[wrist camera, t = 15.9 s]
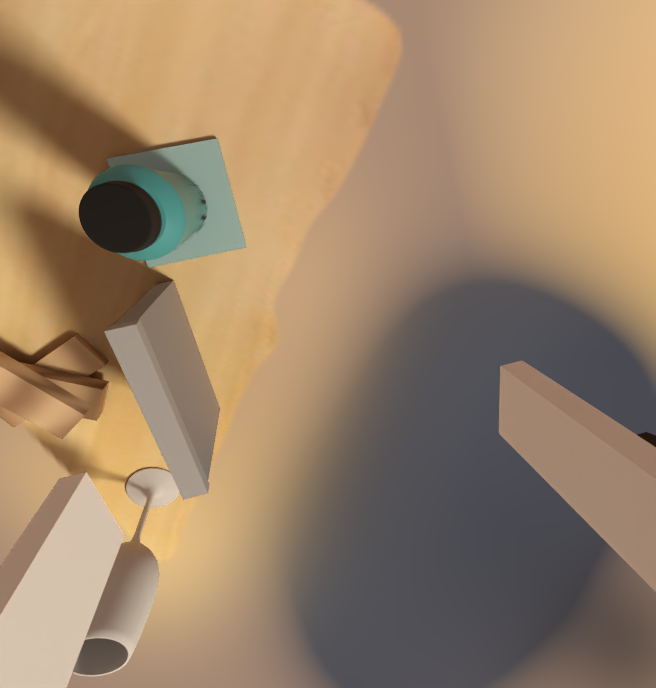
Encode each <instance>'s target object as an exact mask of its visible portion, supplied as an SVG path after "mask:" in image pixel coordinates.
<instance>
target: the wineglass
mask: <svg viewBox="0 0 656 688" xmlns="http://www.w3.org/2000/svg"><path fill="white" fill-rule="evenodd" d="M126 491H127V494H128V496H129V498H130V499H131V500H132V501H133V502H135V503H136V504H138V505H141V506H143V507H144V509H143V512H142V515H141V518H140V521H139V523H138V526H137V529H136V532H135V535H134V536H133V538H132V540H131V541H130V542H126V543H122V544H121V546H120V548H119V551H118V554H117V556H116V559H115V561H114V564H113V567H112V569H111V572H110V575H109V577H108V580H107V582H106V585H105V588H104V590H103V593H102V596H101V598H100V601H99V603H98V606H97V609H96V611H95V614H94V616H93V619H92V622H91V624H90V627H89V630H88V632H87V635H86V637H85V640H84V643H83V645H82V648H81V651H80V653H79V656H78V658H77V661H76V664H75V666H74V669H73V672H72V673H73V674H76V675H81V676H102V675H105V674H110V673H113V672H115V671H117V670H119V669H121V668H122V667H123V666H125V665H126V664H127V662H128V661H129V659H130V657H131V655H132V653H133V651H134V649H135V647H136V645H137V642H138V640H139V638H140V635H141V633H142V631H143V628H144V626H145V623H146V621H147V618H148V615H149V613H150V610H151V607H152V605H153V602H154V598H155V595H156V591H157V587H158V581H159V568H158V563H157V559H156V558H155V556H154V555H153V553H152V552H151V550H150V549H149V548H147V547H146V546H144V545H143V544H141V543H140V537H141V533H142V530H143V527H144V524H145V521H146V518H147V515H148V512H149V509H150V508H158V507H163V506H166V505H168V504H170V503H172V502H173V501H174V500H175V499H176V498H177V497H178V495H179V493H180V492H179V490H178V488H177V485H176V483H175V481H174V479H173V477H172V475H171V473H170V471H168V470H165V469H162V468H145V469H142V470H139V471H137V472H136V473H134V474H133V475H132V476H131V477H130V478H129V480H128V482H127V485H126Z"/></svg>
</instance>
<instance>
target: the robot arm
mask: <svg viewBox="0 0 656 688" xmlns="http://www.w3.org/2000/svg"><path fill="white" fill-rule="evenodd" d="M500 369H501V370H500V408H499V410H500V411H499V434H500V435H501V436H502V437H503V438H504V439H505V440H506V441H507V442H508V443H509V444H510V445H511V446H512V447H513V448H514V449H515V450H516V451H517V452H518V453H519V454H520V455H521V456H522V457H523V458H524V459H525V460H526V461H527V462H528V463H529V464H530V465H531V466H532V467H533V468H534V469H535V470H536V471H537V472H538V473H539V474H540V475H541V476H542V477H543V478H544V479H545V480H546V481H547V482H548V483H549V484H550V485H551V486H552V487H553V488H554V489H555V490H556V491H557V492H558V493H559V494H560V495H561V496H562V497H563V499H564V500H565V501H566V502H567V503H568V504H570V505H571V507H573V508H574V510H575V511H576V512H577V513H578V514H579V515H580V516H581V517H582V518H583V519H584V520H585V521H586V522H587V523H588V524H589V525H590V526H591V527H592V528H593V529H594V530H595V531H596V532H597V533H598V534H599V535H600V536H601V537H602V538H603V539H604V540H605V541H606V542H607V543H608V544H609V545H610V546H611V547H612V548H613V549H614V550H615V551H616V552H617V553H618V554H619V555H620V556H621V557H622V558H623V559H624V560H625V561H626V562H627V563H628V564H629V565H630V566H631V567H632V568H633V569H634V570H635V571H636V572H637V573H638V574H639V575H640V576H641V577H642V578H643V579H644V580H645V581H646V582H647V583H648V584H649V585H650V586H651V588H652V589H654V591H655V592H656V436H655V435H653V434H650V433H647V432H645V433H641V434H637V435H636V434H634V433H633V432H631V431H629V430H628V429H626V428H625V427H623V426H622V425H620V424H619V423H617V422H616V421H614V420H613V419H611V418H610V417H608V416H607V415H605V414H603V413H602V412H600V411H599V410H597V409H596V408H594V407H593V406H591V405H590V404H588V403H586V402H585V401H583V400H582V399H580V398H579V397H577V396H576V395H574V394H573V393H571V392H569V391H568V390H567V389H565V388H563V387H562V386H560V385H559V384H557V383H556V382H554V381H552V380H551V379H550V378H548V377H547V376H545V375H543V374H542V373H540V372H539V371H537V370H536V369H534V368H533V367H531V366H530V365H528V364H526V363H525V362H523V361H519V362H515V363H511V364H507V365H503V366H501V368H500ZM123 538H124V534H123V532H122V531H121V529H120V527H119V526H118V524H117V522H116V521H115V519H114V517H113V516H112V514H111V512H110V511H109V509H108V507H107V506H106V504H105V502H104V501H103V499H102V497H101V495H100V494H99V492H98V490H97V489H96V487H95V485H94V484H93V482H92V480H91V479H90V477H89V475H88V474H87V472H84V473H80V474H76V475H72V476H68V477H64V478H61V479H59V480H58V482H57V483H56V485H55V486H54V487H53V489H52V490H51V492H50V493H49V495H48V496H47V498H46V499H45V501H44V502H43V504H42V505H41V507H40V508H39V510H38V511H37V513H36V514H35V515H34V517H33V518H32V520H31V521H30V523H29V524H28V526H27V527H26V529H25V530H24V532H23V533H22V535H21V536H20V538H19V539H18V540H17V542H16V543H15V545H14V547H13V548H12V549H11V551H10V552H9V554H8V555H7V557H6V558H5V560H4V561H3V563H2V564H1V565H0V688H66V687H67V685H68V682H69V679H70V677H71V674H72V672H73V669H74V666H75V664H76V661H77V658H78V656H79V653H80V651H81V648H82V645H83V643H84V640H85V637H86V635H87V632H88V630H89V627H90V624H91V622H92V619H93V616H94V614H95V611H96V609H97V606H98V603H99V601H100V598H101V596H102V593H103V590H104V588H105V585H106V582H107V580H108V577H109V575H110V572H111V569H112V567H113V564H114V561H115V559H116V556H117V554H118V551H119V548H120V546H121V543H122V540H123Z"/></svg>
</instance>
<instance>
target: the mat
mask: <svg viewBox="0 0 656 688" xmlns="http://www.w3.org/2000/svg"><path fill="white" fill-rule="evenodd" d="M106 160H107V162H108V165H109V167H112V166H115V165H121V164H133V165H139V166H143V167H146V168H149V169H153V170H157V171H165V172H171V173H177V174H181V175H183V174H185V175H186V176H185V177H187V176H188V177H187V178H189V179H190V178H191V179H190V180H191V181H193V182H194V183H195V184H196V185H199V186H200V187H199V186H198V187H199V189H200V190H201V191H202V193H203V195H204V197H205V198H206V199H205V200H206V207H207V209H208V211H207V213H206V215H207V216H206V219H207V220H206V219H205V221H204V223H203V224H205V225H203V227H202V226H201V227H202V228H201V229H200V230H199V231H197V232H198V233H197V232H195V233H194V234H193V235H191V236H190V237H189V238H190V239H187V241H186V240H185V241H184V242H183V243H181V244H180V245H178V246H177V247H176V248H175V249H176V250H175V249H174V250H173V251H172V252H170V253H169V254H167V255H166V256H163V257H161V258H158V259H155V260H147V261H146V263H147V266H148V268H150V267H155V266H160V265H164V264H169V263H174V262H179V261H183V260H188V259H193V258H198V257H202V256H207V255H212V254H217V253H222V252H226V251H231V250H236V249H241V248H245V247H246V243H245V240H244V236H243V232H242V228H241V225H240V221H239V217H238V213H237V210H236V206H235V202H234V198H233V194H232V191H231V187H230V183H229V179H228V176H227V172H226V168H225V164H224V161H223V157H222V153H221V149H220V146H219V142H218V139H211V140H206V141H200V142H195V143H189V144H184V145H178V146H173V147H167V148H162V149H156V150H150V151H145V152H139V153H134V154H128V155H123V156H117V157H112V158H106ZM173 171H174V172H173ZM183 176H184V175H183ZM192 179H193V180H192ZM207 204H208V205H207ZM192 236H193V237H192ZM191 237H192V238H191ZM179 246H180V247H179Z"/></svg>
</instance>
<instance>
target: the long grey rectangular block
mask: <svg viewBox="0 0 656 688" xmlns="http://www.w3.org/2000/svg"><path fill="white" fill-rule="evenodd" d="M104 332H105V334H106V337H107V339H108V341H109V343H110V345H111V347H112V349H113V351H114V354H115V356H116V358H117V360H118V362H119V364H120V366H121V369H122V371H123V373H124V375H125V377H126V379H127V381H128V383H129V386H130V388H131V390H132V392H133V394H134V396H135V398H136V400H137V403H138V405H139V407H140V409H141V411H142V413H143V415H144V417H145V420H146V422H147V424H148V426H149V428H150V430H151V432H152V434H153V437H154V439H155V441H156V443H157V445H158V447H159V449H160V451H161V454H162V456H163V458H164V460H165V462H166V464H167V466H168V468H169V471H170V473H171V475H172V477H173V479H174V481H175V483H176V485H177V488H178V490H179V492H180V494H181V496H182V498H183V500H184V499H188V498H192V497H195V496H199V495H203V494H206V493H208V489H209V482H208V478H209V472H210V466H211V460H212V454H213V448H214V442H215V436H216V430H217V424H218V418H219V412H220V407H219V405H218V402H217V399H216V396H215V394H214V391H213V388H212V385H211V383H210V380H209V377H208V374H207V371H206V369H205V366H204V363H203V360H202V358H201V355H200V352H199V349H198V347H197V344H196V341H195V338H194V335H193V333H192V330H191V327H190V324H189V322H188V319H187V316H186V313H185V311H184V308H183V305H182V302H181V299H180V297H179V294H178V291H177V288H176V286H175V283H174V280H173V281H168V282H164V283H159V284H156V285H155V286H153V287H152V288H151V289H150V290H149V291H148V292H147V293H146V294H145V295H144V296H143V297H142V298H141V299H140V300H139V301H138V302H137V303H136V304H135V305H134V306H132V307H131V308H130V309H129V310H128V311H127V312H126V313H125V314H124V315H123V316H122V317H121V318H120V319H119V320H118V321H117V322H116V323H115V324H114V325H112V326H109V327H108V328H107V329H106V330H105V331H104Z"/></svg>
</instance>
